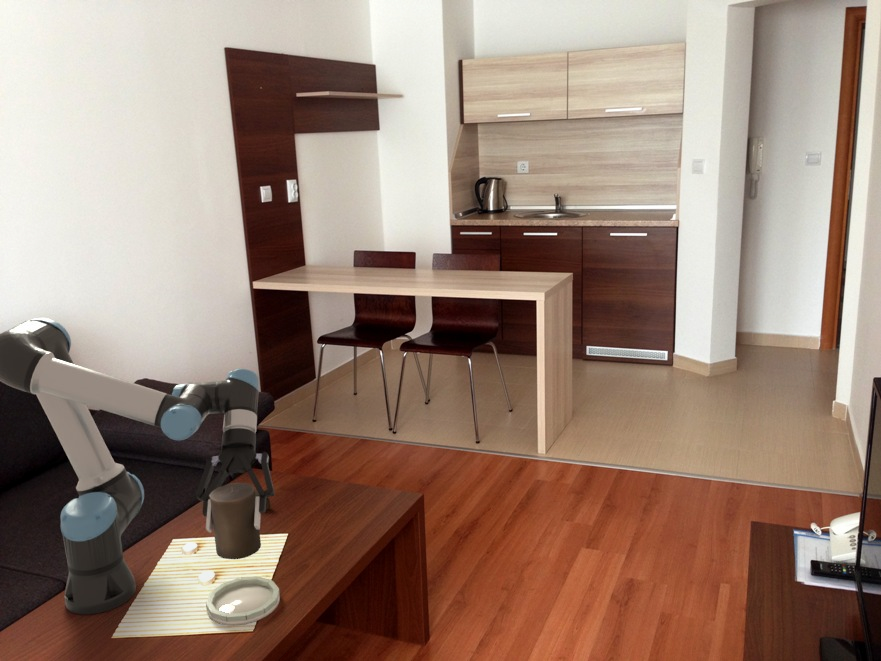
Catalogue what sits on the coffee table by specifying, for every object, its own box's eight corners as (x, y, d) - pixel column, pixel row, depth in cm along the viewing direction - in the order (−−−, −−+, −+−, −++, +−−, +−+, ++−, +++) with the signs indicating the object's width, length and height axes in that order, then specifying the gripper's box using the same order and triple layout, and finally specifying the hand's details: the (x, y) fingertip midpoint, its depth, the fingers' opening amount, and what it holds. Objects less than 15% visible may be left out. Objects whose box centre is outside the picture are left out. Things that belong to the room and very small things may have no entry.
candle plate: (199, 627, 169) (198, 619, 168) (215, 586, 184) (214, 578, 184) (274, 622, 170) (273, 614, 169) (284, 581, 185) (283, 574, 185)
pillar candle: (264, 554, 171) (258, 490, 167) (218, 564, 167) (210, 499, 164) (257, 534, 180) (251, 473, 176) (213, 543, 176) (206, 481, 173)
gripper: (290, 436, 184) (287, 530, 173) (194, 442, 183) (185, 537, 172) (285, 423, 178) (282, 520, 166) (186, 429, 177) (176, 527, 165)
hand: (233, 529), depth 169 cm, fingers closed on pillar candle, 9 cm apart
